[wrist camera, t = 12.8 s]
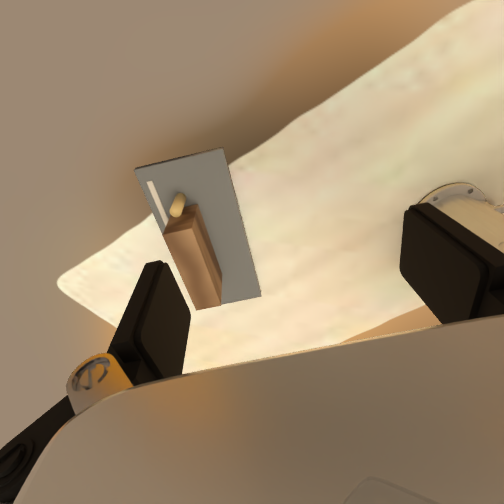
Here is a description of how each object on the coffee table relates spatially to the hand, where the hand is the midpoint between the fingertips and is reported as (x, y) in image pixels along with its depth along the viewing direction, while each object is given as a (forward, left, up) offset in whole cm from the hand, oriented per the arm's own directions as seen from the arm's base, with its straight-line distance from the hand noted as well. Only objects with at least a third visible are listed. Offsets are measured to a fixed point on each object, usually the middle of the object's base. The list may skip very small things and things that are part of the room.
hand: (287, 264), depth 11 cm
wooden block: (+12, +16, -32) cm, 38 cm away
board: (+10, +16, -33) cm, 38 cm away
